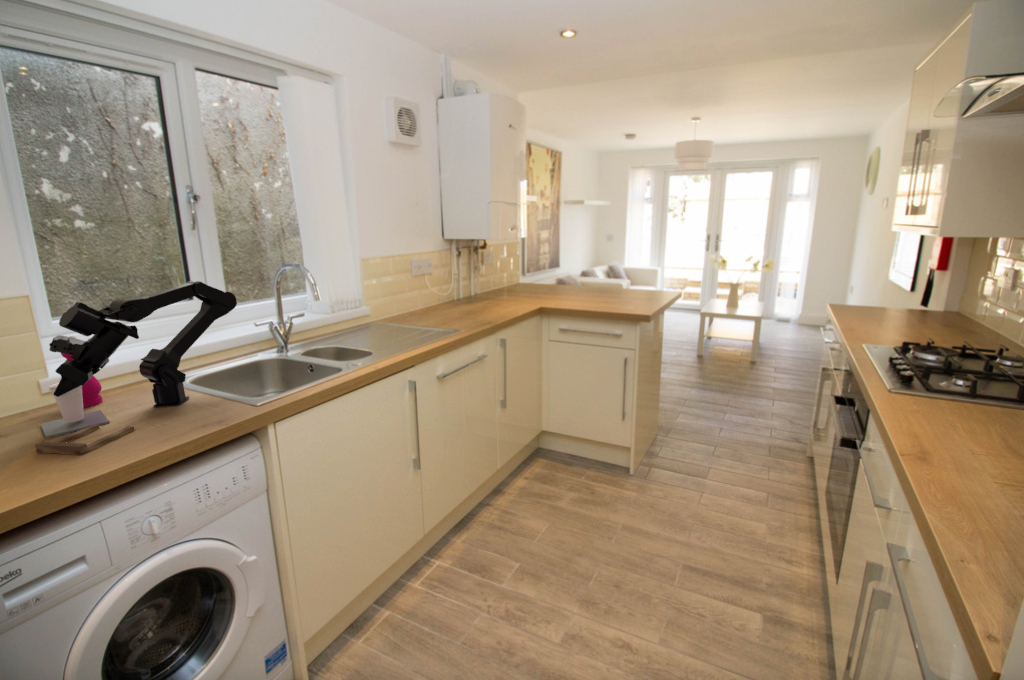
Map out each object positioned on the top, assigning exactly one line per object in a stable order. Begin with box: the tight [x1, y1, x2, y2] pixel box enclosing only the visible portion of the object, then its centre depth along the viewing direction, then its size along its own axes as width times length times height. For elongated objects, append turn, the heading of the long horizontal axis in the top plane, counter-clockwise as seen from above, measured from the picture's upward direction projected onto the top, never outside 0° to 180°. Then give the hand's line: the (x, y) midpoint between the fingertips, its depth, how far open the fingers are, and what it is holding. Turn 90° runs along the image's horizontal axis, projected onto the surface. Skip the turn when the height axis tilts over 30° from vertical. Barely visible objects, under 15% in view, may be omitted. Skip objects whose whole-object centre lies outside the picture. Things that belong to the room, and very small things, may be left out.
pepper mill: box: [60, 335, 103, 409], centre depth 138 cm, size 7×7×20 cm
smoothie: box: [48, 382, 85, 423], centre depth 123 cm, size 6×6×14 cm
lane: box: [34, 425, 135, 456], centre depth 115 cm, size 13×12×2 cm
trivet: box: [40, 409, 110, 440], centre depth 125 cm, size 12×12×1 cm
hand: (60, 391), depth 123 cm, fingers closed on smoothie, 6 cm apart
